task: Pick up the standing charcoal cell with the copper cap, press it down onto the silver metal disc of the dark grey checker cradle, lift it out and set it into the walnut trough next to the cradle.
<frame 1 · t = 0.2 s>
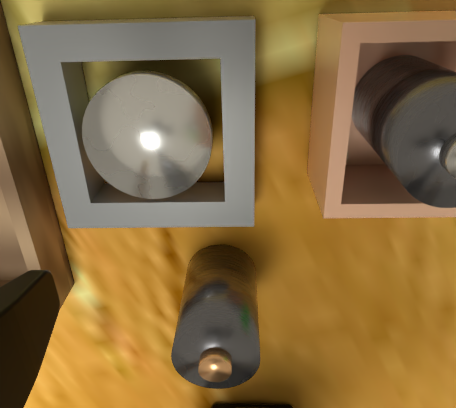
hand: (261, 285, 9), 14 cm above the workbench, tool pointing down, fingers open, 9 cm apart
checker frame: (158, 122, 21), on the workbench
cell b: (396, 102, 20), point 1 cm above the workbench, touching pink square bin
pink square bin: (392, 99, 20), on the workbench
silver metal disc: (149, 138, 19), point 2 cm above the workbench, slide at -0.2 cm
cell a: (221, 273, 26), on the workbench
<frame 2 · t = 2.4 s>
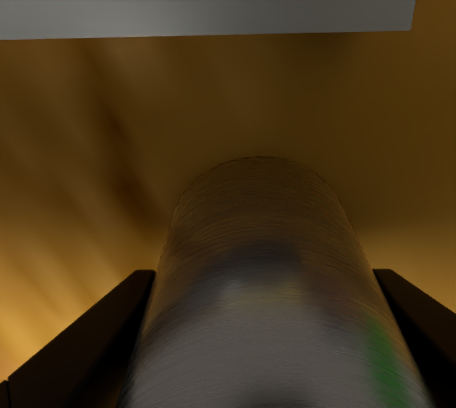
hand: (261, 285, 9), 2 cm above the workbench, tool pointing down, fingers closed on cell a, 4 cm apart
cell a: (257, 238, 10), on the workbench, touching gripper
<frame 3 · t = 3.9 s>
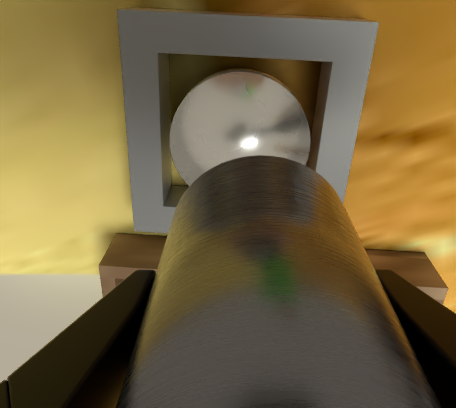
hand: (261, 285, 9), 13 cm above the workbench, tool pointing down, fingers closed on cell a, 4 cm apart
trough: (263, 300, 25), on the workbench
checker frame: (240, 125, 20), on the workbench
silver metal disc: (239, 141, 18), point 2 cm above the workbench, slide at -0.2 cm
cell a: (258, 237, 10), point 11 cm above the workbench, touching gripper
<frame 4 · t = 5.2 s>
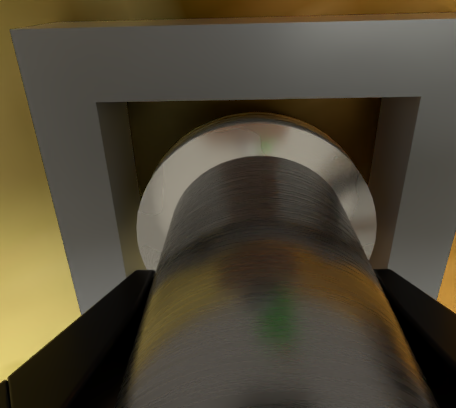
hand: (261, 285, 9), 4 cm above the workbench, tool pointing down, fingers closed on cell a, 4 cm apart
checker frame: (252, 195, 12), on the workbench
silver metal disc: (254, 230, 11), point 2 cm above the workbench, slide at -0.7 cm, touching cell a
cell a: (257, 237, 10), point 3 cm above the workbench, touching silver metal disc, gripper
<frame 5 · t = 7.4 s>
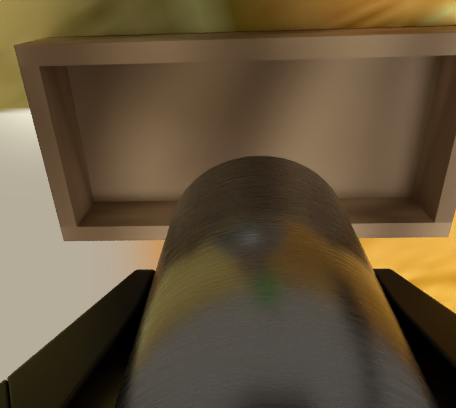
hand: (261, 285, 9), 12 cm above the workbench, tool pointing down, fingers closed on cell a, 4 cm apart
trough: (250, 128, 19), on the workbench
cell a: (257, 238, 10), point 10 cm above the workbench, touching gripper
when the fingers open (4 cm above the workbench, at t = 9.2 s): cell a drops 1 cm, resting on trough.
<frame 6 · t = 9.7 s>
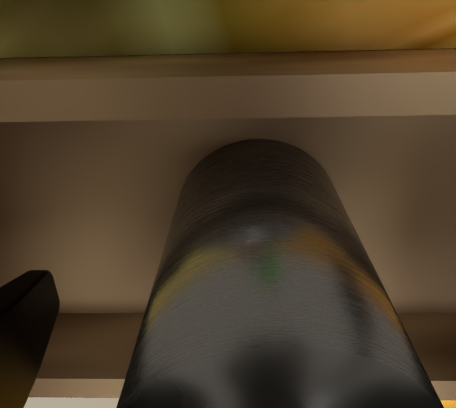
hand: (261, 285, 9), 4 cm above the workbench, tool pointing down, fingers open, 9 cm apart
trough: (254, 207, 12), on the workbench
cell a: (256, 215, 11), point 1 cm above the workbench, touching trough
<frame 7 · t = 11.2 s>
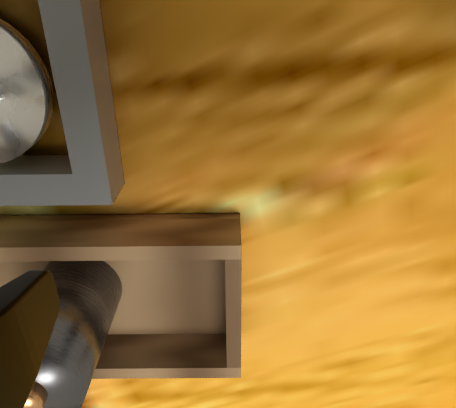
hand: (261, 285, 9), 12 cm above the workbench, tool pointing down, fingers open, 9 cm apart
trough: (85, 280, 23), on the workbench
cell a: (82, 286, 22), point 1 cm above the workbench, touching trough
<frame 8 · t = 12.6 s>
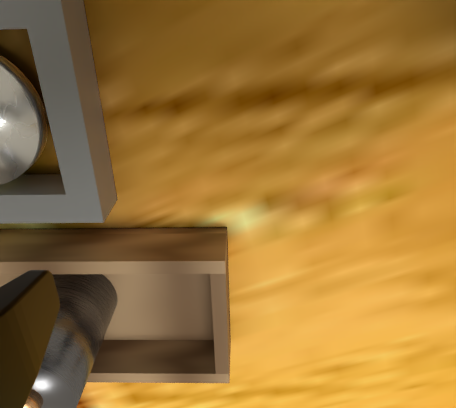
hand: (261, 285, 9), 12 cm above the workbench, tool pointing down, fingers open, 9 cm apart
trough: (82, 289, 24), on the workbench
cell a: (79, 295, 24), point 1 cm above the workbench, touching trough
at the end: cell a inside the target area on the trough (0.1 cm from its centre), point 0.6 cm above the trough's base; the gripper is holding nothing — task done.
